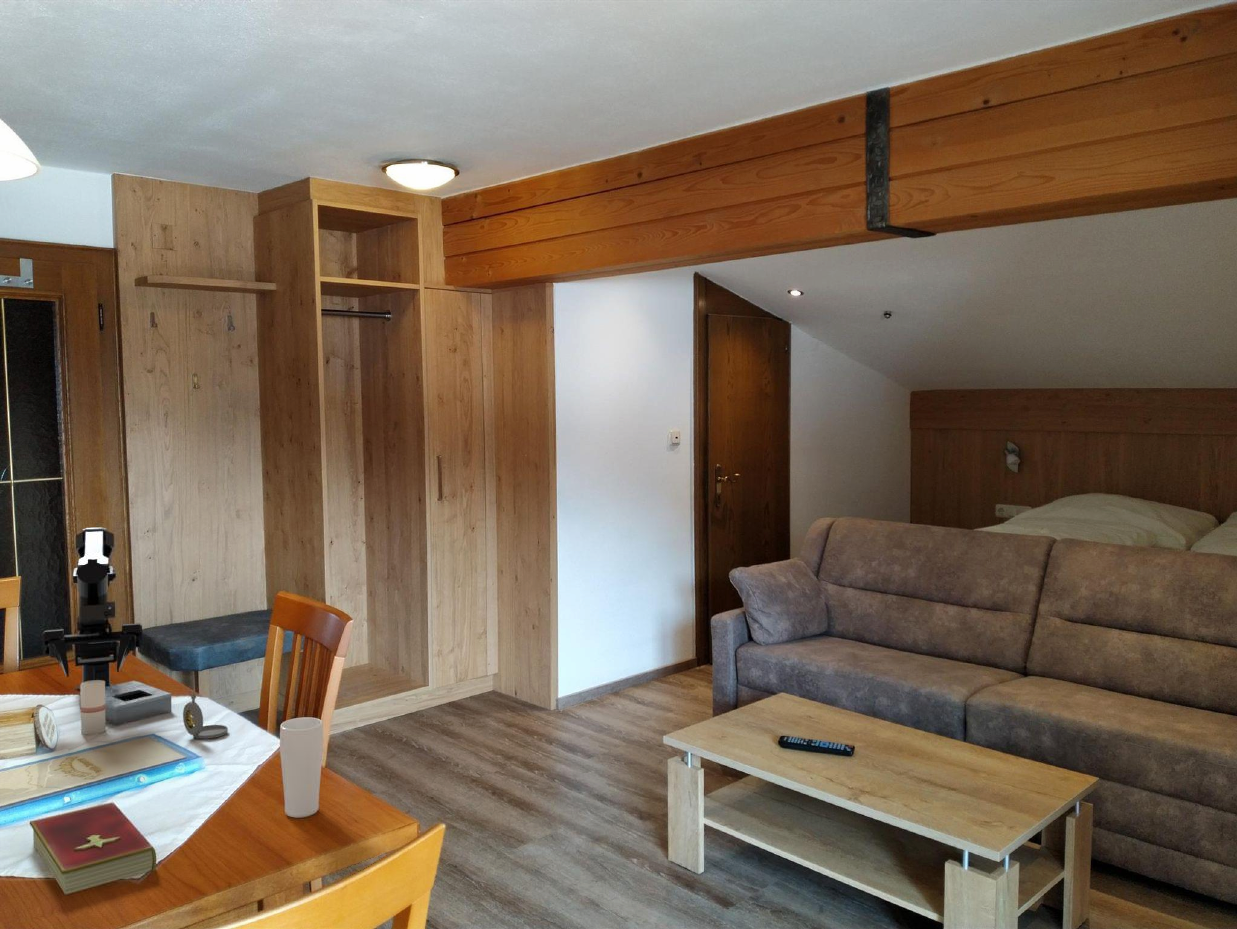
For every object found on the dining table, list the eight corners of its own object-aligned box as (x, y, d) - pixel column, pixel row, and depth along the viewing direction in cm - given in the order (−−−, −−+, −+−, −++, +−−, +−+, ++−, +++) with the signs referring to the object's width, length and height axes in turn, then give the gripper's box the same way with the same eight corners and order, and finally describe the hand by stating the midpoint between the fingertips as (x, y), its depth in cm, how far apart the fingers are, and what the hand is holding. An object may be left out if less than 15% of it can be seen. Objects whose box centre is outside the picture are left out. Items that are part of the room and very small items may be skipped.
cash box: (79, 710, 211) (79, 692, 211) (134, 697, 221) (134, 680, 220) (115, 725, 201) (115, 706, 201) (171, 711, 211) (171, 693, 211)
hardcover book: (116, 825, 155) (115, 799, 155) (156, 872, 140) (156, 844, 139) (30, 846, 147) (29, 819, 147) (62, 899, 132) (62, 869, 131)
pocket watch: (233, 730, 200) (233, 682, 199) (212, 744, 191) (212, 694, 191) (196, 728, 201) (195, 680, 200) (173, 742, 192) (172, 692, 192)
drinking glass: (311, 800, 165) (311, 714, 164) (330, 812, 160) (330, 723, 159) (273, 811, 160) (272, 722, 159) (291, 824, 155) (291, 733, 154)
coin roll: (76, 731, 197) (76, 683, 197) (99, 726, 201) (98, 678, 200) (87, 736, 195) (86, 687, 194) (109, 730, 198) (109, 682, 198)
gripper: (41, 592, 200) (38, 657, 191) (141, 586, 209) (143, 647, 199) (44, 622, 208) (41, 686, 198) (141, 615, 216) (143, 676, 207)
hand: (93, 673), depth 201 cm, fingers open, 9 cm apart
